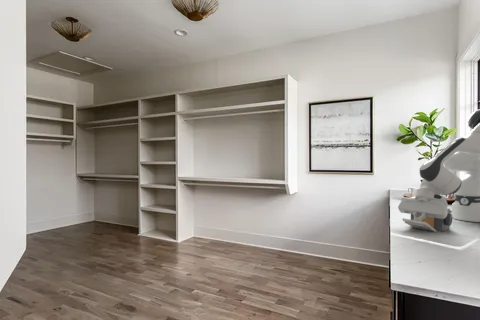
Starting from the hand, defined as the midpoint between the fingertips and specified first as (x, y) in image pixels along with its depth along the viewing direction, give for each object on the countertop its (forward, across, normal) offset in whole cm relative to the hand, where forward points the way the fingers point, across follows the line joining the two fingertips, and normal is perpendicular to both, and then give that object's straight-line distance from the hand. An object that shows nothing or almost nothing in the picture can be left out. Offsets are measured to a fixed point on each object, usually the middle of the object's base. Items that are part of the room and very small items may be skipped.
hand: (416, 221), depth 135 cm
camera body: (-6, 0, +15) cm, 16 cm away
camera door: (-4, 0, +11) cm, 11 cm away
